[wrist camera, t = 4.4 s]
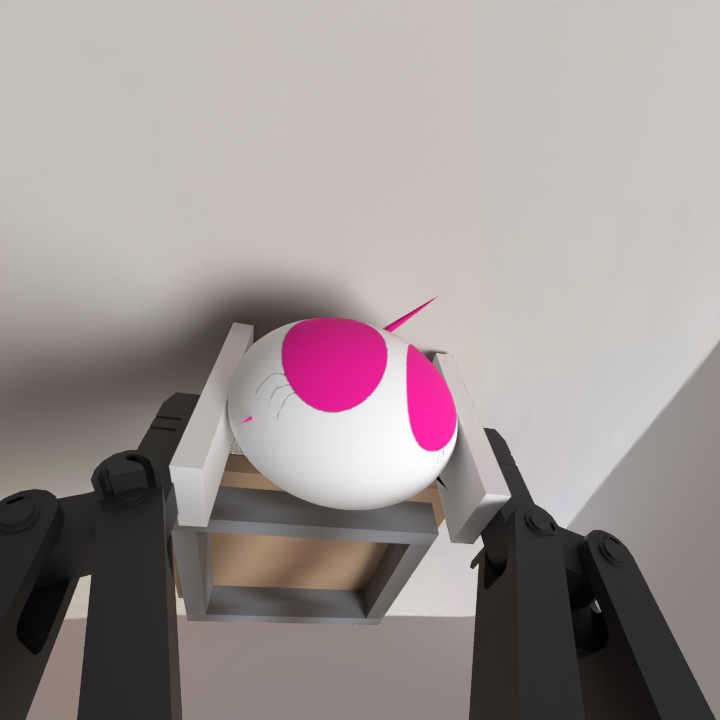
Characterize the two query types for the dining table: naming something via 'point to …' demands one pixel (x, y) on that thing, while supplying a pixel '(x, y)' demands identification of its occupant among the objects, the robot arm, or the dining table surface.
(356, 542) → the cradle
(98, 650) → the robot arm
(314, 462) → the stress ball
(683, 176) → the dining table surface
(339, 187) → the dining table surface
